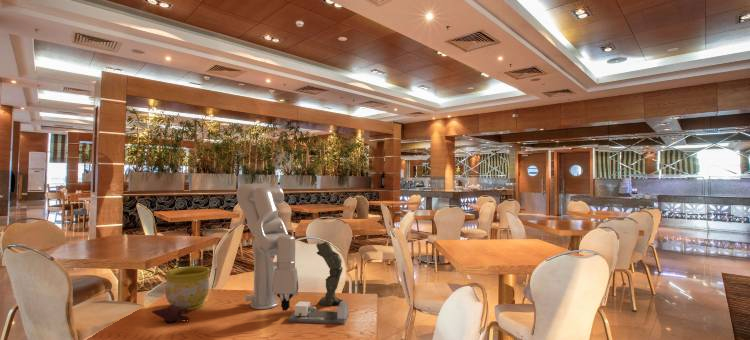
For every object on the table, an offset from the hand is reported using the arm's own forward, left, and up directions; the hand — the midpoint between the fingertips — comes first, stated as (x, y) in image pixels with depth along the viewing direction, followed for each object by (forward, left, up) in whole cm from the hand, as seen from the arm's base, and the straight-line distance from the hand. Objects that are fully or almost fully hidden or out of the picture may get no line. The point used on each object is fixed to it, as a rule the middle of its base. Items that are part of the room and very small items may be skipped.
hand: (285, 309), depth 161 cm
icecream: (-44, -10, -4) cm, 45 cm away
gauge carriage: (+9, -1, -1) cm, 9 cm away
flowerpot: (-48, +7, -3) cm, 48 cm away
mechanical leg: (+14, +20, -3) cm, 25 cm away
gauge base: (+14, 0, -3) cm, 15 cm away
